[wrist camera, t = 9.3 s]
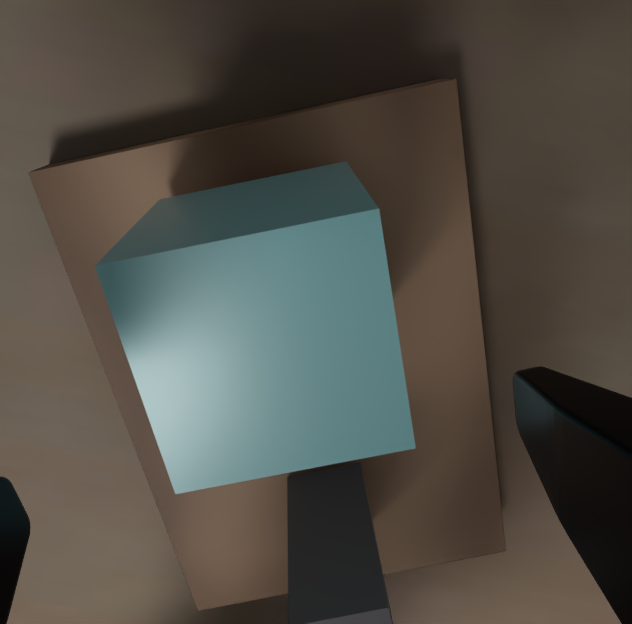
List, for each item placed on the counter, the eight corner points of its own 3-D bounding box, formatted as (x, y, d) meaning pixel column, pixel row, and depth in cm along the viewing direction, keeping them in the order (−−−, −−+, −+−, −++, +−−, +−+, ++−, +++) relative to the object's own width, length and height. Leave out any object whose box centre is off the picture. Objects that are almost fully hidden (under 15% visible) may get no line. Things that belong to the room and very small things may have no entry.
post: (301, 506, 23) (309, 694, 16) (287, 451, 22) (288, 626, 15) (367, 493, 23) (403, 676, 16) (355, 437, 22) (388, 607, 15)
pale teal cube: (208, 365, 18) (175, 494, 13) (159, 199, 16) (94, 265, 11) (375, 332, 18) (415, 448, 12) (345, 161, 16) (379, 208, 10)
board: (202, 579, 24) (198, 611, 23) (48, 164, 18) (28, 172, 16) (492, 523, 24) (505, 550, 22) (442, 78, 17) (456, 78, 16)
